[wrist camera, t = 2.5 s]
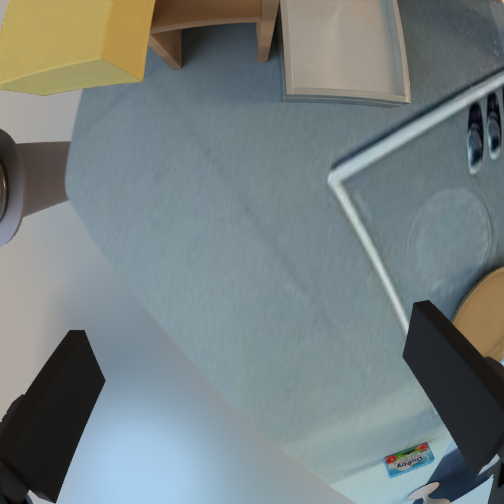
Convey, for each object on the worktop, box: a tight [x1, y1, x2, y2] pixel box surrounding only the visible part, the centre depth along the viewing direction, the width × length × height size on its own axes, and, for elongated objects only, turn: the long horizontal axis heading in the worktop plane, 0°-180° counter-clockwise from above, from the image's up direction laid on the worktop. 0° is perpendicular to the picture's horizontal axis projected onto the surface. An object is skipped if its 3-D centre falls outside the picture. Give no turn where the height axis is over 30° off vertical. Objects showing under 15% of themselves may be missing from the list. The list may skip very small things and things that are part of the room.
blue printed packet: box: [384, 442, 434, 478], centre depth 55 cm, size 12×2×6 cm, turn 103°
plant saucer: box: [451, 266, 504, 362], centre depth 44 cm, size 24×24×3 cm
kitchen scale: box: [276, 0, 411, 108], centre depth 28 cm, size 26×15×6 cm, turn 3°
